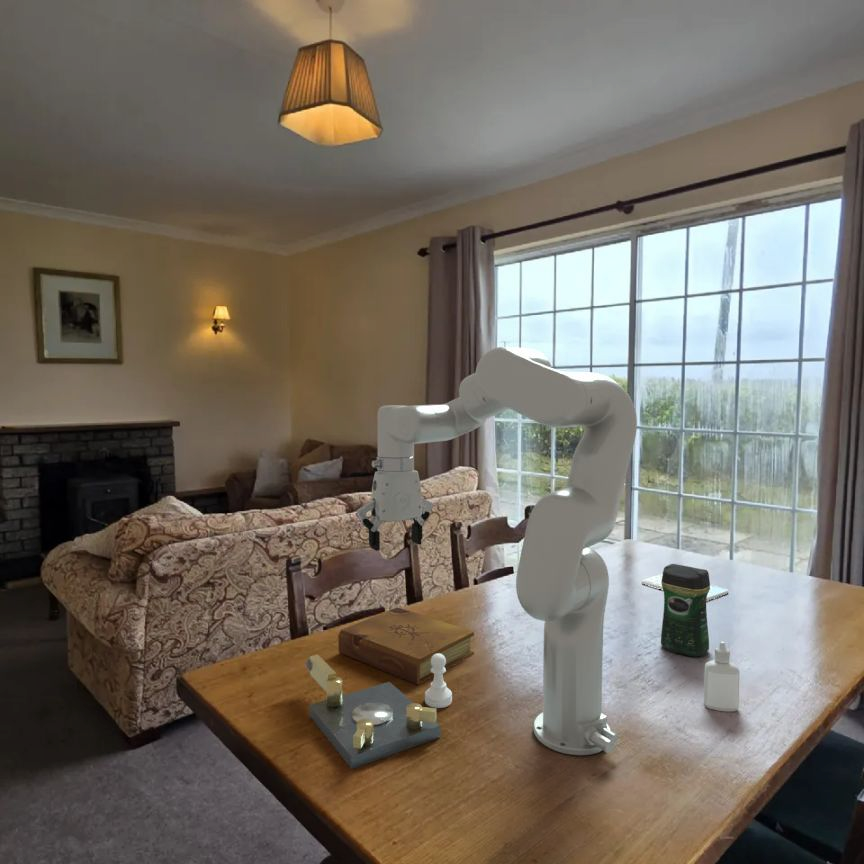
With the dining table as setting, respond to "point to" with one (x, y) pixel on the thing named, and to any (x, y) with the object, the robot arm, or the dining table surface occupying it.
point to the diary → (405, 643)
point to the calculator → (712, 594)
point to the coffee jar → (685, 610)
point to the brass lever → (326, 679)
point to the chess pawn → (438, 684)
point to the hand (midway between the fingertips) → (396, 546)
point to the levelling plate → (375, 724)
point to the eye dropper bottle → (721, 682)
